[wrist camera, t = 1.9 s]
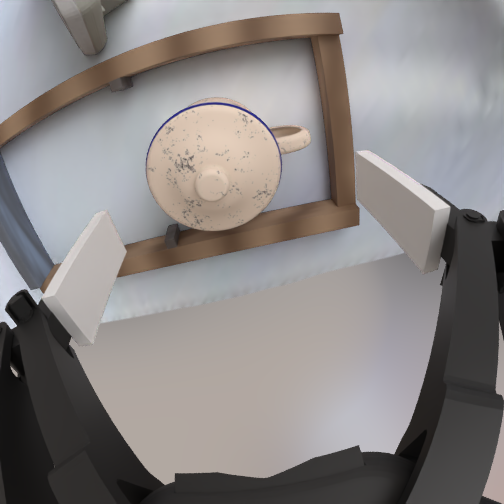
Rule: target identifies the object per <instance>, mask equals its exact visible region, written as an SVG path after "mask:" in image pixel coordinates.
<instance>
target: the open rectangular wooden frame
mask: <svg viewBox="0 0 504 504" xmlns="http://www.w3.org/2000/svg"><path fill="white" fill-rule="evenodd" d="M340 34H343V29H342V24H341V20H340V15H339V13H303V14H286V15H275V16H266V17H258V18H250V19H244V20H238V21H232V22H227V23H222V24H217V25H212V26H208V27H203V28H199V29H195V30H191V31H187V32H184V33H180V34H177V35H173V36H170V37H167V38H164V39H161V40H157V41H154V42H152V43H149V44H146V45H143V46H140V47H138V48H135V49H132V50H130V51H127V52H125V53H122V54H120V55H118V56H115V57H113V58H111V59H108V60H106V61H104V62H102V63H100V64H97V65H95V66H93V67H91V68H89V69H87V70H85V71H83V72H81V73H79V74H77V75H75V76H74V77H72V78H70V79H68V80H66V81H64V82H63V83H61V84H59V85H57V86H56V87H54V88H52V89H51V90H49V91H47V92H46V93H44V94H43V95H41V96H39V97H38V98H36V99H35V100H33V101H32V102H30V103H29V104H27V105H26V106H24V107H23V108H22V109H20V110H19V111H17V112H16V113H15V114H13V115H12V116H11V117H9V118H8V119H7V120H5V121H4V122H3V123H1V124H0V148H1V147H3V146H4V145H5V144H7V143H8V142H9V141H11V140H12V139H14V138H15V137H17V136H18V135H20V134H21V133H23V132H24V131H26V130H27V129H29V128H30V127H32V126H33V125H35V124H36V123H38V122H40V121H41V120H43V119H45V118H46V117H48V116H50V115H52V114H53V113H55V112H57V111H59V110H60V109H62V108H64V107H66V106H68V105H70V104H72V103H73V102H75V101H77V100H79V99H81V98H83V97H85V96H87V95H89V94H92V93H94V92H96V91H98V90H100V89H102V88H105V87H107V86H109V85H110V87H111V91H112V92H116V91H121V90H125V89H127V88H130V87H132V86H133V85H132V81H131V76H134V75H137V74H139V73H142V72H145V71H148V70H150V69H153V68H156V67H159V66H162V65H166V64H169V63H172V62H175V61H179V60H182V59H186V58H189V57H193V56H197V55H201V54H205V53H209V52H214V51H218V50H223V49H227V48H233V47H238V46H243V45H249V44H256V43H263V42H270V41H278V40H288V39H299V38H311V43H312V48H313V53H314V59H315V64H316V70H317V76H318V82H319V89H320V95H321V102H322V109H323V117H324V125H325V133H326V142H327V152H328V162H329V174H330V186H331V199H328V200H323V201H318V202H313V203H308V204H303V205H298V206H293V207H288V208H283V209H278V210H273V211H268V212H264V213H259V214H258V215H257V216H256V217H254V218H253V219H252V220H250V221H248V222H246V223H245V224H243V225H240V226H238V227H235V228H231V229H227V230H221V231H205V230H199V229H194V228H193V229H189V230H184V231H180V229H179V227H178V224H174V225H170V226H168V230H167V233H166V235H164V236H160V237H156V238H152V239H148V240H144V241H140V242H136V243H132V244H129V245H125V246H124V247H125V249H126V251H127V252H126V255H125V257H124V259H123V262H122V264H121V267H120V269H119V272H118V274H117V277H121V276H126V275H130V274H135V273H140V272H144V271H149V270H153V269H158V268H162V267H167V266H171V265H176V264H181V263H185V262H190V261H194V260H199V259H203V258H208V257H213V256H217V255H222V254H226V253H231V252H236V251H240V250H245V249H250V248H254V247H259V246H263V245H268V244H273V243H277V242H282V241H287V240H291V239H296V238H301V237H305V236H310V235H315V234H319V233H324V232H329V231H334V230H338V229H343V228H348V227H352V226H357V225H359V207H358V206H357V205H356V201H355V170H354V151H353V137H352V125H351V115H350V105H349V97H348V88H347V81H346V74H345V67H344V61H343V55H342V49H341V43H340V38H339V35H340ZM0 241H1V243H2V245H3V247H4V248H5V250H6V252H7V253H8V255H9V257H10V258H11V260H12V262H13V263H14V265H15V267H16V268H17V270H18V271H19V273H20V274H21V276H22V278H23V279H24V281H25V282H26V284H27V285H28V286H29V288H30V289H31V290H33V289H37V288H40V289H41V291H42V292H43V294H44V293H45V291H46V289H47V287H48V286H49V284H50V282H51V280H52V279H53V277H54V275H55V274H56V272H57V270H58V269H59V267H60V265H61V264H62V263H60V264H56V265H54V264H53V262H52V260H51V259H50V257H49V255H48V254H47V252H46V250H45V248H44V247H43V245H42V243H41V241H40V240H39V238H38V236H37V234H36V232H35V230H34V228H33V226H32V224H31V223H30V221H29V219H28V217H27V215H26V212H25V210H24V208H23V206H22V204H21V202H20V200H19V198H18V195H17V193H16V191H15V189H14V186H13V184H12V181H11V179H10V177H9V174H8V172H7V169H6V166H5V164H4V161H3V158H2V156H1V153H0ZM117 277H116V278H117Z"/></svg>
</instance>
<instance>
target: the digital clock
mask: <svg viewBox="0 0 504 504" xmlns="http://www.w3.org/2000/svg"><path fill="white" fill-rule="evenodd" d="M51 1H52V3H53V4H54V6H55V8H56V10H57V11H58V13H59V15H60V17H61V18H62V20H63V22H64V23H65V25H66V27H67V29H68V30H69V32H70V34H71V35H72V37H73V39H74V40H75V42H76V44H77V45H78V47H79V48H80V49H81V50H82V52H83V53H84V55H96V54H98V53H99V52H100V51H101V50H102V49H103V48H104V46H105V44H106V42H107V34H106V29H105V23H104V18H103V17H104V16H105V15H106V14H108V13H109V12H110V11H112V10H113V9H115V8H116V7H118V6H119V5H121V4H122V3H124V2H125V1H127V0H51Z"/></svg>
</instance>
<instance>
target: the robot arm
mask: <svg viewBox="0 0 504 504" xmlns="http://www.w3.org/2000/svg"><path fill="white" fill-rule="evenodd" d="M355 159H356V180H357V200H358V201H359V202H360V203H361V204H362V205H363V206H364V207H365V208H366V209H367V210H368V211H369V212H370V213H371V215H372V216H373V217H374V218H375V219H376V220H377V221H378V222H379V223H380V224H381V225H382V226H383V228H384V229H385V230H386V231H387V232H388V233H389V234H390V235H391V237H392V238H393V239H394V240H395V241H396V242H397V243H398V245H399V246H400V247H401V248H402V249H403V251H404V252H405V253H406V254H407V255H408V256H409V258H410V259H411V260H412V261H413V263H414V264H415V265H416V266H417V267H418V269H419V270H420V271H421V272H422V274H426V273H428V272H432V271H434V270H437V269H438V267H439V263H440V258H441V257H442V258H443V259H444V260H445V262H446V266H445V270H444V273H443V277H442V281H441V284H440V285H442V286H443V288H442V295H441V303H440V309H439V316H438V321H437V326H436V332H435V337H434V341H433V346H432V351H431V355H430V359H429V363H428V367H427V371H426V374H425V378H424V382H423V385H422V389H421V392H420V396H419V398H418V402H417V404H416V407H415V410H414V413H413V416H412V419H411V422H410V425H409V426H408V428H407V430H406V432H405V434H404V436H403V437H402V439H401V441H400V443H399V445H398V448H397V450H396V452H395V454H390V453H382V452H361V451H360V448H359V445H358V446H355V447H352V448H348V449H345V450H342V451H338V452H335V453H331V454H328V455H324V456H320V457H315V458H313V459H310V460H308V461H306V462H304V463H302V464H300V465H297V466H295V467H293V468H291V469H288V470H286V471H284V472H281V473H279V474H276V475H274V476H271V477H268V478H254V477H245V476H237V475H229V474H224V473H218V472H216V473H187V474H185V473H183V474H181V473H180V474H179V473H175V482H172V483H170V484H167V485H164V484H163V483H162V482H161V481H159V480H158V479H157V478H155V477H154V476H153V475H152V474H150V473H149V472H148V471H147V470H146V468H145V467H144V466H143V465H142V463H141V462H140V461H139V459H138V458H137V457H136V455H135V454H134V453H133V451H132V450H131V448H130V447H129V446H128V444H127V443H126V441H125V440H124V438H123V437H122V435H121V434H120V432H119V431H118V429H117V428H116V426H115V425H114V423H113V422H112V420H111V418H110V417H109V415H108V413H107V412H106V410H105V409H104V407H103V405H102V403H101V402H100V400H99V398H98V396H97V395H96V393H95V391H94V389H93V387H92V385H91V384H90V382H89V380H88V378H87V376H86V374H85V372H84V370H83V368H82V366H81V364H80V362H79V360H78V358H77V355H76V353H75V351H74V349H73V348H72V347H71V346H70V345H69V342H70V339H71V337H72V338H73V340H74V341H75V342H76V343H77V344H78V345H79V346H88V345H93V343H94V340H95V337H96V333H97V330H98V327H99V324H100V321H101V318H102V315H103V312H104V309H105V307H106V304H107V301H108V298H109V295H110V293H111V290H112V287H113V285H114V282H115V280H116V277H117V274H118V272H119V269H120V267H121V264H122V262H123V259H124V257H125V255H126V252H127V251H126V249H125V247H124V245H123V243H122V241H121V239H120V237H119V234H118V232H117V230H116V228H115V226H114V224H113V221H112V219H111V217H110V215H109V213H108V210H104V211H101V212H98V213H96V214H95V215H94V216H93V218H92V219H91V221H90V222H89V223H88V225H87V226H86V228H85V229H84V230H83V232H82V233H81V235H80V236H79V238H78V239H77V241H76V242H75V244H74V245H73V247H72V248H71V250H70V251H69V253H68V254H67V256H66V257H65V259H64V261H63V262H62V264H61V265H60V267H59V269H58V270H57V272H56V274H55V275H54V277H53V279H52V280H51V282H50V284H49V286H48V287H47V289H46V291H45V293H44V295H43V296H42V298H41V300H40V302H39V304H38V305H37V304H36V302H35V301H34V300H33V298H32V297H31V295H30V294H29V293H28V291H27V290H25V289H24V290H21V291H19V292H17V293H16V294H15V295H14V296H13V297H12V298H11V299H10V300H9V302H8V303H7V305H6V308H5V311H6V312H7V313H8V314H9V316H10V317H11V318H12V320H13V321H14V322H15V323H16V325H17V327H15V328H13V329H10V327H9V326H8V325H7V324H6V323H5V322H1V323H0V504H501V503H499V502H496V501H494V500H491V499H489V498H486V497H484V496H482V494H483V491H484V488H485V485H486V482H487V479H488V476H489V473H490V470H491V466H492V462H493V459H494V455H495V451H496V446H497V443H498V438H499V433H500V427H501V423H502V417H503V410H504V400H503V397H502V395H499V394H496V391H495V388H496V377H497V365H498V347H499V322H500V326H501V330H502V335H503V339H504V210H502V211H500V213H499V216H498V221H497V222H492V221H487V219H486V218H485V217H484V216H483V215H482V214H481V213H479V212H477V211H474V210H471V209H461V210H459V209H458V208H457V207H455V206H454V205H453V204H451V203H450V202H449V201H448V200H446V199H445V198H443V197H442V196H441V195H440V194H437V192H435V191H434V190H433V189H431V188H430V187H427V186H425V185H423V184H419V183H418V182H417V181H415V180H414V179H412V178H411V177H409V176H408V175H406V174H405V173H404V172H402V171H401V170H399V169H398V168H396V167H394V166H393V165H391V164H390V163H388V162H387V161H385V160H384V159H382V158H380V157H379V156H377V155H375V154H374V153H372V152H370V151H369V150H364V151H357V152H355ZM10 366H11V367H12V368H13V369H14V370H15V371H16V372H17V373H18V377H16V376H15V375H14V374H13V372H12V370H11V367H10ZM54 466H55V467H54Z"/></svg>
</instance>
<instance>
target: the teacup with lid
mask: <svg viewBox="0 0 504 504" xmlns="http://www.w3.org/2000/svg"><path fill="white" fill-rule="evenodd" d="M310 142H311V137H310V132H309V130H308V129H306V128H304V127H301V126H295V125H285V126H276V127H271V128H268V126H267V125H266V124H265V123H264V122H263V121H262V120H261V119H260V118H258V117H257V116H256V115H255V114H253V113H252V112H251V111H250V110H249V109H247V108H246V107H245V106H243V105H242V104H240V103H238V102H236V101H233V100H231V99H227V98H207V99H203V100H200V101H197V102H195V103H193V104H191V105H190V106H188V107H187V108H185V109H183V110H181V111H179V112H178V113H176V114H174V115H173V116H172V117H170V118H169V119H168V120H167V121H166V122H165V123H164V124H163V125H162V126H161V127H160V128H159V130H158V131H157V132H156V134H155V136H154V137H153V139H152V141H151V144H150V146H149V149H148V153H147V158H146V176H147V181H148V185H149V188H150V191H151V193H152V195H153V197H154V199H155V200H156V202H157V203H158V205H159V206H160V207H161V208H162V210H163V211H164V212H165V213H166V214H168V215H169V216H170V217H171V218H173V219H174V220H176V221H177V222H179V223H181V224H183V225H185V226H188V227H191V228H194V229H199V230H205V231H221V230H227V229H231V228H235V227H238V226H240V225H243V224H245V223H246V222H248V221H250V220H252V219H253V218H254V217H256V216H257V215H258V214H259V213H261V212H262V211H263V210H264V209H265V208H266V206H267V205H268V204H269V203H270V201H271V199H272V198H273V196H274V194H275V192H276V190H277V188H278V185H279V182H280V178H281V172H282V159H281V155H282V154H287V153H291V152H295V151H298V150H301V149H303V148H305V147H306V146H308V145H309V144H310Z"/></svg>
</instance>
